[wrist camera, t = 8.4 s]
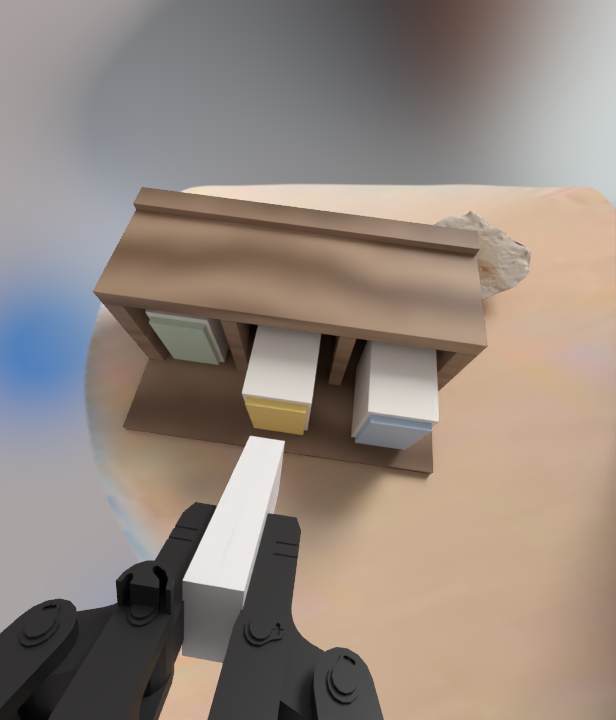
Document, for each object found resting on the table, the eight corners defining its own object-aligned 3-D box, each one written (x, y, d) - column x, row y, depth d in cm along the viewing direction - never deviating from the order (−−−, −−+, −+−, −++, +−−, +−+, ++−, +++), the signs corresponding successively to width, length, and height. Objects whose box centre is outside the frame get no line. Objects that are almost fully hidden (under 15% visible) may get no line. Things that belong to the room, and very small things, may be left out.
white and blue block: (406, 451, 30) (439, 430, 23) (350, 443, 30) (367, 419, 23) (406, 374, 33) (435, 336, 26) (356, 367, 33) (372, 327, 27)
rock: (422, 319, 43) (533, 302, 38) (418, 310, 40) (539, 290, 35) (414, 239, 45) (517, 214, 40) (410, 225, 42) (521, 196, 37)
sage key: (223, 367, 33) (205, 326, 26) (172, 360, 33) (142, 318, 26) (240, 304, 36) (228, 254, 29) (194, 298, 36) (172, 246, 29)
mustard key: (306, 437, 30) (310, 411, 23) (251, 429, 30) (239, 401, 23) (316, 362, 33) (323, 320, 27) (267, 355, 33) (261, 312, 27)
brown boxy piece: (430, 473, 30) (505, 445, 19) (125, 428, 31) (38, 377, 20) (425, 313, 38) (477, 231, 27) (183, 280, 38) (142, 187, 28)
